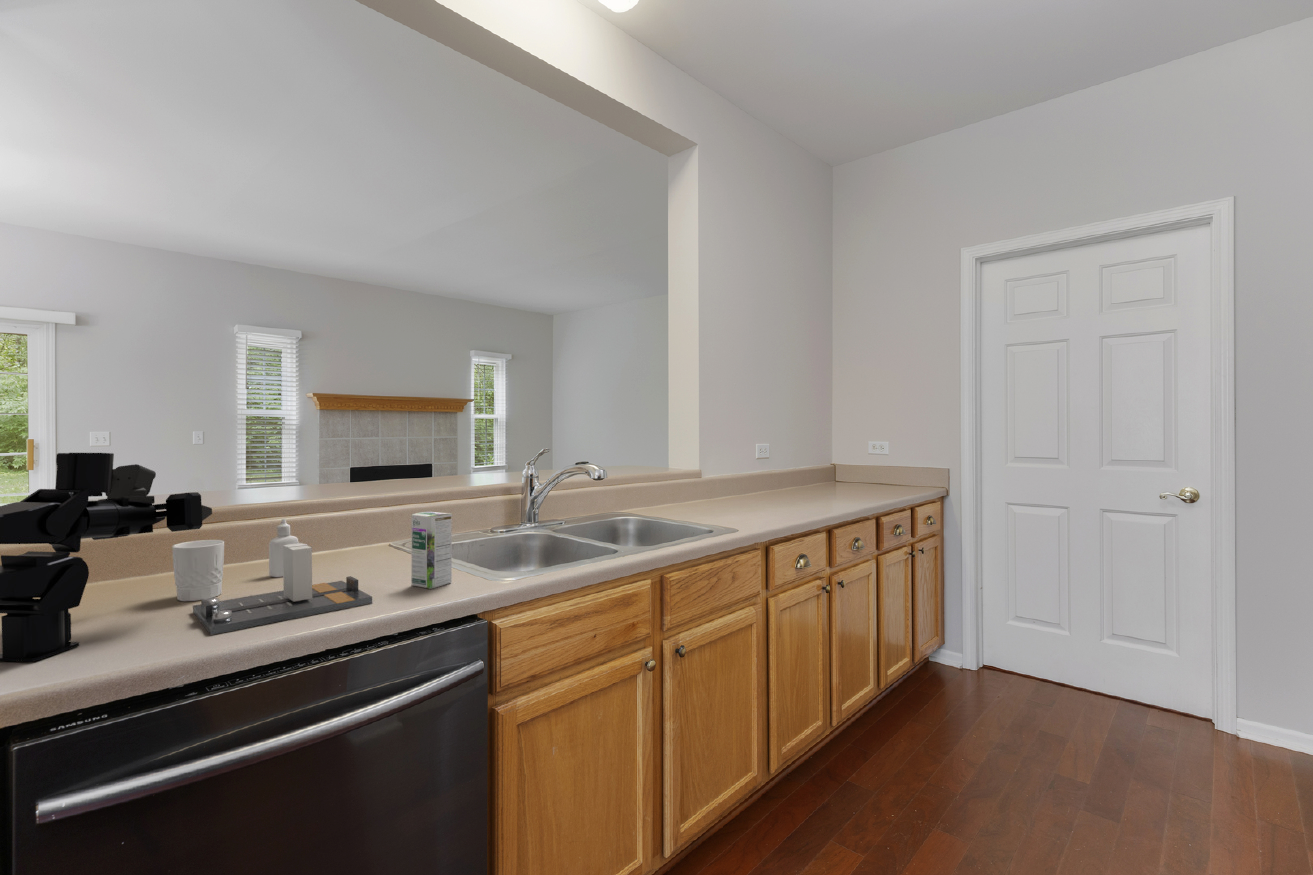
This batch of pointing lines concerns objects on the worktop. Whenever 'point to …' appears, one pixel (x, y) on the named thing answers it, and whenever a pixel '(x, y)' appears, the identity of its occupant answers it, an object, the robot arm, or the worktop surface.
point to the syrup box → (431, 549)
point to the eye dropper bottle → (279, 548)
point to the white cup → (198, 569)
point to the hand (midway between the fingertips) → (187, 513)
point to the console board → (277, 606)
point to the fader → (297, 571)
